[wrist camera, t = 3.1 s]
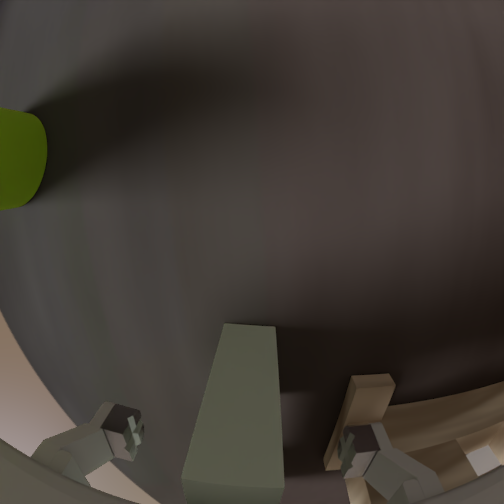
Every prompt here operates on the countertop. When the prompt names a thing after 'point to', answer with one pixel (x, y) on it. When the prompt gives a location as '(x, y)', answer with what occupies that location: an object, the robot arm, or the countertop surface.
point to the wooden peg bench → (422, 430)
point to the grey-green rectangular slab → (238, 424)
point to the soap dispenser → (20, 157)
